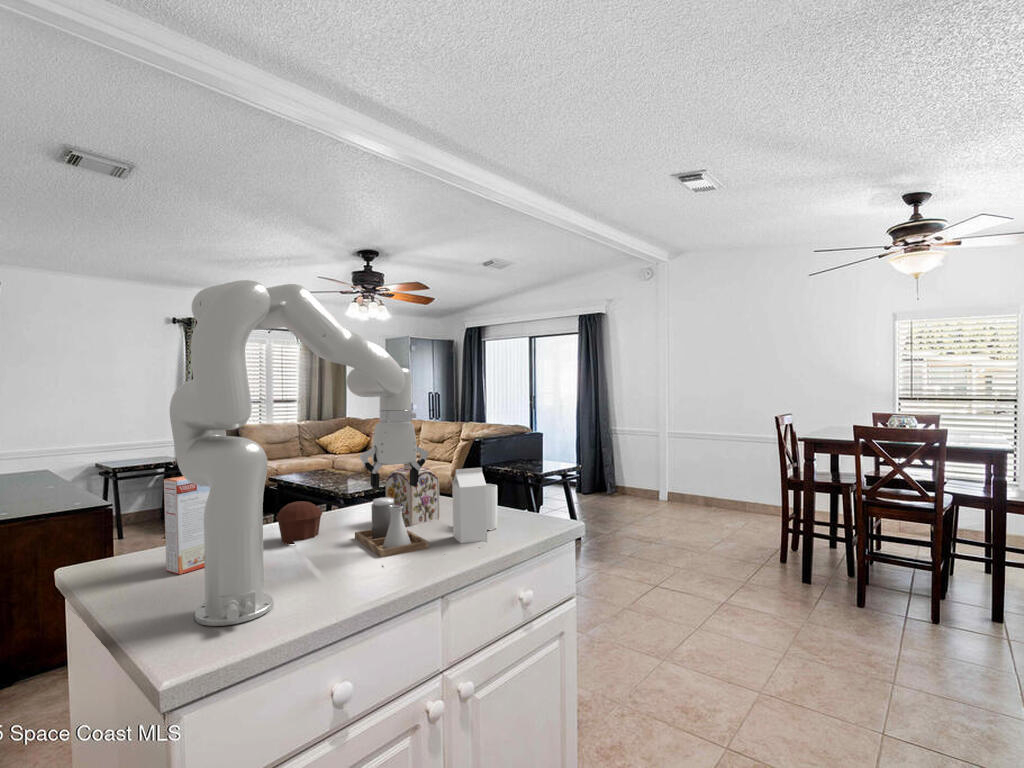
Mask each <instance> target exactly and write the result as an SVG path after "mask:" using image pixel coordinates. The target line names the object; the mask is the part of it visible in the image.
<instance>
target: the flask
mask: <svg viewBox="0 0 1024 768" xmlns="http://www.w3.org/2000/svg"><path fill="white" fill-rule="evenodd" d="M402 508H403V506H391V507H390V510H391V519H390V525H389V528H388V531H387V535H386V538H385V541H384V544H383V547H382V549H387V548H392V547H397V546H403V545H408V544H411V541H410V538H409V536H408V533H407V531H406V530H407V529H406V525H404V522H403V518H402Z"/></svg>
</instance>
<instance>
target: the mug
mask: <svg viewBox="0 0 1024 768" xmlns="http://www.w3.org/2000/svg"><path fill="white" fill-rule="evenodd" d="M486 485H487V530H489V529H494V528H496V527H497V528H498V485H497V484H492V483H486ZM497 528H496V529H497Z"/></svg>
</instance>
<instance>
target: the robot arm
mask: <svg viewBox="0 0 1024 768" xmlns="http://www.w3.org/2000/svg"><path fill="white" fill-rule="evenodd" d="M191 313H192V315H193V318H194V320H195V321H196V322H197V323H196V325H195V327H194V330H193V332H192V336H191V342H190V357H191V358H190V360H191V370H192V379H190V380H188V381H187V380H186V381H185V382H183V383H182V384H181V385H180V386H178V388H176V389H175V391H174V393H173V394H172V396H171V399H170V403H169V419H170V425H171V426H170V427H171V432H172V439H173V445H174V452H175V457H176V462H177V466H178V469H179V471H180V473H181V475H182V476H184V477H185V478H186V479H187V480H188V481H189V482H191V483H193V484H196V485H200V486H205V487H210V491H209V495H208V498H207V502H206V505H205V510H204V566H205V567H204V604H202V605H200V606H199V607H198V608H197V609H196V610H195V613H194V619H195V622H196V623H198V624H200V625H202V626H207V627H208V626H209V627H221V626H222V627H223V626H231V625H239V624H242V623H245V622H250V621H252V620H255V619H257V618H259V617H262V616H263V615H265V614H267V613H268V612H270V610H271V609H272V608H273V606H274V598H273V597H272V596H271V595H270V594H267V593H265V581H264V578H265V577H264V576H265V573H264V569H265V567H264V525H263V524H264V521H263V519H264V518H263V517H264V516H263V515H264V512H263V511H264V509H263V508H264V507H263V506H264V505H263V503H264V492H265V484H266V480H267V474H268V467H269V466H268V458H267V454H266V452H265V450H264V448H263V447H262V446H261V445H260V444H259V443H258V442H256V441H254V440H252V439H249V438H247V437H243V436H233V435H231V436H229V435H227V431H229V430H236V429H238V428H241V427H242V426H244V425H245V424H246V423H247V422H248V421H249V419H250V417H251V415H252V399H251V398H252V397H251V392H250V383H249V377H248V370H247V363H246V362H247V361H246V348H247V347H246V346H247V343H248V339H249V337H250V335H251V334H252V332H253V331H257V330H258V331H259V330H269V329H281V328H286V329H287V330H288V331H289V332H290V333H291V334H293V335H294V336H295V337H296V338H297V339H298V340H299V341H300V342H302V343H303V345H305V346H306V347H307V348H308V349H309V350H310V351H311V352H312V353H314V355H315V356H317V357H319V358H321V359H323V360H325V361H328V362H332V363H335V364H340V365H344V366H347V367H350V368H353V369H351V370H350V371H349V373H348V375H347V378H346V385H347V388H348V390H349V391H350V392H351V393H352V394H354V395H355V396H358V397H360V398H379V423H376V424H375V426H374V432H373V440H372V447H371V448H369V449H368V450H366V451H364V452H363V453H361V454H360V455H359V460H360V461H361V463H362V466H363V467H364V468H365V469H366V470H367V471H368V472H369V473H370V487H371V488H372V489H371V490H373V491H379V490H380V473H379V472H378V471H380V469H381V468H382V466H390V465H391V466H392V465H404V464H409V465H410V466H411V467H412V469H410V485H411V486H414V487H417V483H418V481H419V470H420V469H421V467H423V465H424V464H425V463H426V460H427V458H428V456H429V454H430V453H429V451H427V450H426V449H423V448H421V447H419V446H417V439H416V436H417V435H416V431H415V425H414V423H413V422H412V420H413V419H415V418H416V417H417V414H416V412H412V373H411V371H410V369H409V368H407V367H401V366H400V365H399V363H398V362H397V361H396V360H395V359H394V358H393V357H392V356H391V355H390V353H389V352H387V351H386V349H384V348H382V347H381V346H379V345H378V344H376V343H375V342H373V341H371V340H369V339H368V338H365V337H364V336H362V335H360V334H358V333H356V332H354V331H352V330H350V329H348V328H347V327H345V326H344V325H343V324H342V322H340V321H339V320H338V319H337V318H336V317H335V316H334V314H332V313H331V312H330V310H328V308H326V307H325V305H324V304H322V302H320V300H319V299H318V298H316V297H315V296H314V295H313V294H312V292H310V291H309V290H308V289H307V288H305V287H304V286H302V285H300V284H296V283H288V284H281V285H275V286H271V287H265V285H263V284H262V283H260V282H259V281H257V280H249V279H245V280H243V279H242V280H236V281H228V282H225V283H221V284H217V285H213V286H209V287H205V288H203V289H201V290H200V291H198V292H197V293H196V295H195V296H194V297H193V299H192V302H191ZM417 454H419V455H420V457H419V458H418V459H417V457H418V456H417ZM370 457H371V459H372V460H371V461H372V464H371V463H370V461H369V458H370Z"/></svg>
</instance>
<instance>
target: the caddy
mask: <svg viewBox="0 0 1024 768" xmlns="http://www.w3.org/2000/svg"><path fill="white" fill-rule="evenodd" d="M406 531H407V533H408V536H409V538H410V541H411V544H408V545H403V546H397V547H392V548H387V549H382V547H383V544H384V541H385V538H386V537H383V538H377V539H372V528H371V529H365V530H359V531H355V532H354V539H355V540H356V541H358V542H359V543H360V544H361V545H363V546H365V547H366V548H367V549H369V550H370V551H371V552H373V553H374V554H375V555H377V556H378V557H380V558H381V559H382V558H387V557H392V556H397V555H402V554H406V553H407V554H408V553H412V552H418V551H424V550H428V549H430V542H429V541H428V540H426V539H425V538H423V537H421V536H419V535H418V534H416V533H413V532H412V531H410V530H409V529H406Z"/></svg>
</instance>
